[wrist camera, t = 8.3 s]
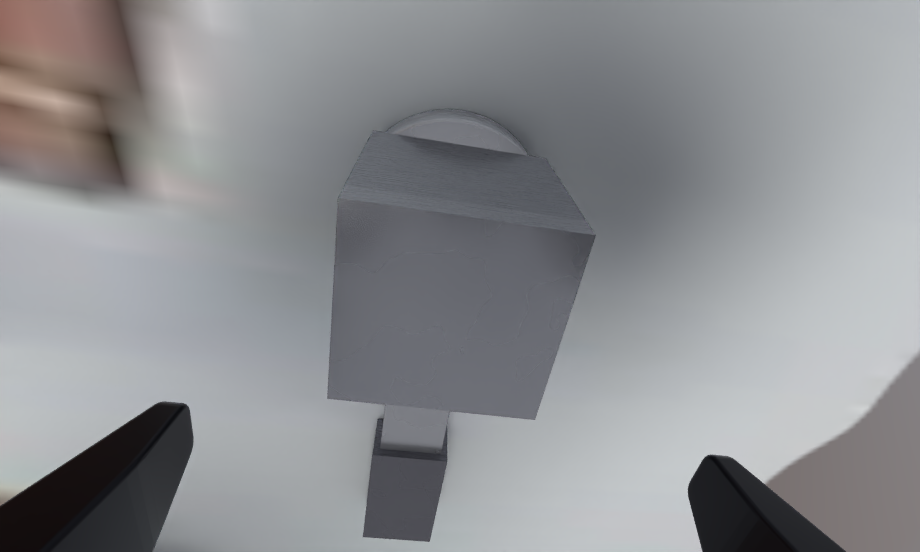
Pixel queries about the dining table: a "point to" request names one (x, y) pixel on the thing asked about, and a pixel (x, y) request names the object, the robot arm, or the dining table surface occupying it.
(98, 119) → the dining table surface
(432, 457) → the gray handled tool
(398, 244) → the gray block
